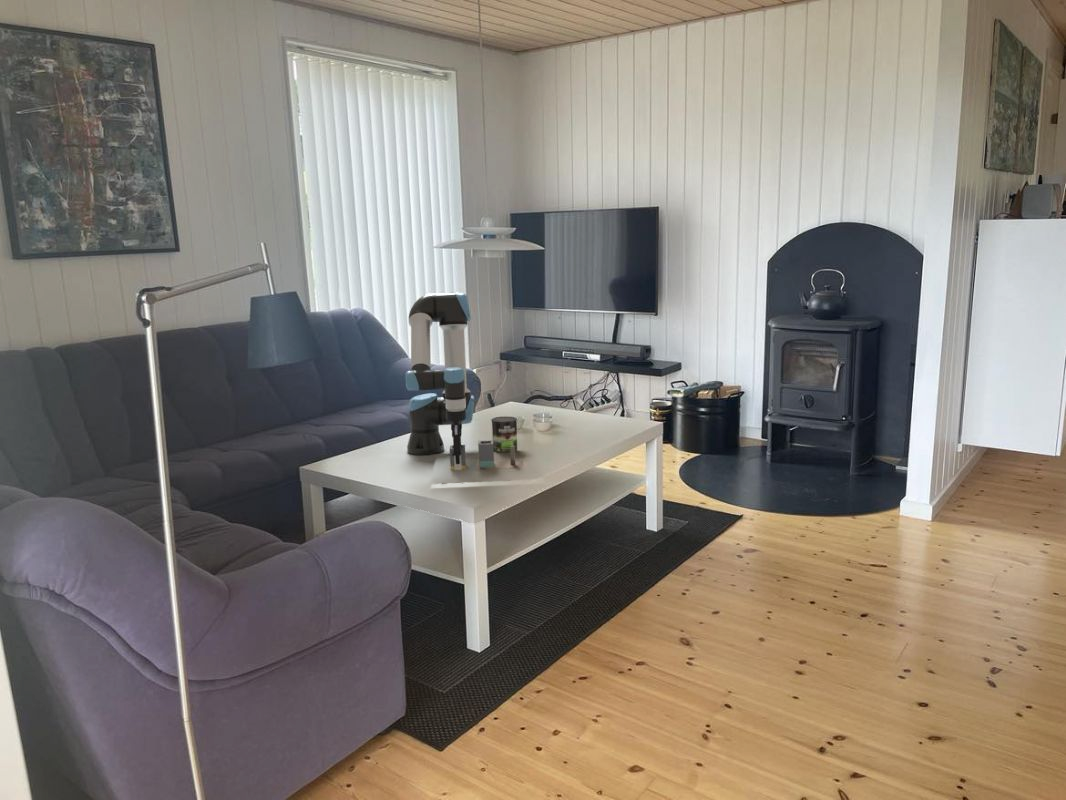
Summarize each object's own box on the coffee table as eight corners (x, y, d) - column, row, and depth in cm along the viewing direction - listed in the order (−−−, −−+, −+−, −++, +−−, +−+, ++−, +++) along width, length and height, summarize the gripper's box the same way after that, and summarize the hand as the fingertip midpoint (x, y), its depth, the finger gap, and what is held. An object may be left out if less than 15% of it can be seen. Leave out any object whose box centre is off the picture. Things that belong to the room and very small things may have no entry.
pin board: (476, 473, 304) (475, 451, 302) (476, 466, 313) (475, 444, 312) (524, 471, 305) (523, 449, 303) (523, 464, 314) (522, 442, 313)
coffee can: (520, 454, 329) (519, 420, 326) (495, 457, 326) (494, 422, 323) (514, 448, 338) (513, 415, 336) (490, 450, 336) (488, 417, 333)
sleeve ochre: (451, 468, 310) (450, 445, 308) (466, 467, 310) (465, 444, 308) (450, 472, 304) (449, 449, 303) (465, 471, 305) (464, 448, 303)
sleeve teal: (479, 467, 306) (478, 444, 304) (479, 463, 311) (478, 440, 309) (494, 467, 306) (493, 443, 304) (493, 463, 311) (493, 440, 310)
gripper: (446, 404, 311) (449, 462, 316) (444, 415, 293) (447, 477, 298) (466, 403, 312) (468, 462, 317) (465, 414, 294) (468, 476, 298)
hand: (458, 469), depth 307 cm, fingers closed on sleeve ochre, 6 cm apart
